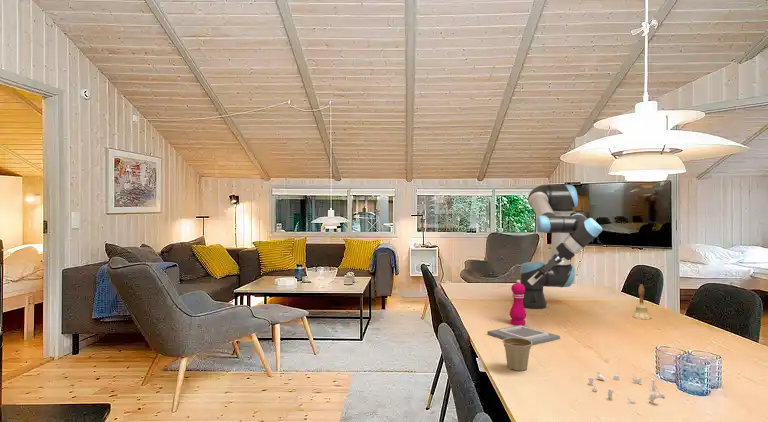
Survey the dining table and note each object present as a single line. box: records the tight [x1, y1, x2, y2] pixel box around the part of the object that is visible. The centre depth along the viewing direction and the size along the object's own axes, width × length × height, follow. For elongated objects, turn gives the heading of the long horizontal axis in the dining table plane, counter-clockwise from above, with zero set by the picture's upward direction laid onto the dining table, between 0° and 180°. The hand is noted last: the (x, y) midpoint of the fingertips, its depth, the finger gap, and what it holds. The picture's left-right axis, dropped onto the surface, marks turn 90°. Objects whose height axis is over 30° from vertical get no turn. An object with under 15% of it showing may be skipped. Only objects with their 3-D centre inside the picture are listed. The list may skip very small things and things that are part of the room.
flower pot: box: [502, 338, 533, 372], centre depth 152 cm, size 9×9×9 cm
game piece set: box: [588, 371, 666, 404], centre depth 134 cm, size 19×20×4 cm
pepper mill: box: [509, 279, 527, 326], centre depth 209 cm, size 7×7×20 cm
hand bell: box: [631, 283, 652, 320], centre depth 224 cm, size 8×8×16 cm
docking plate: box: [487, 325, 561, 347], centre depth 189 cm, size 20×20×2 cm
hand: (532, 280), depth 205 cm, fingers open, 13 cm apart
